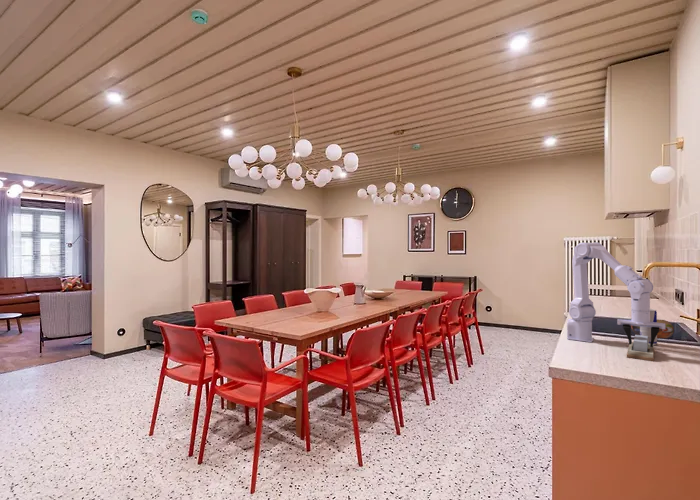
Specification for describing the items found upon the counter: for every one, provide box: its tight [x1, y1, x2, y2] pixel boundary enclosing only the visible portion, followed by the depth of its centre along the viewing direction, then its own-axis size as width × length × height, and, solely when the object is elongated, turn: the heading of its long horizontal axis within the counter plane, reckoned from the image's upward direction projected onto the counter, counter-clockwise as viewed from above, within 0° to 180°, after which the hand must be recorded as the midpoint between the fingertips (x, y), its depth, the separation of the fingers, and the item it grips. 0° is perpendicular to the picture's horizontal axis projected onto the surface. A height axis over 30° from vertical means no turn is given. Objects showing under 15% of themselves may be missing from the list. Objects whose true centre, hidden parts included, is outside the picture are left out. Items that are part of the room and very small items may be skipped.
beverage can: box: [640, 308, 658, 346], centre depth 156 cm, size 6×6×15 cm
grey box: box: [632, 334, 648, 352], centre depth 142 cm, size 4×12×5 cm, turn 140°
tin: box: [631, 318, 675, 339], centre depth 167 cm, size 15×3×8 cm, turn 62°
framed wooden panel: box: [626, 341, 655, 362], centre depth 142 cm, size 8×18×2 cm, turn 140°
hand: (640, 345), depth 142 cm, fingers open, 6 cm apart
